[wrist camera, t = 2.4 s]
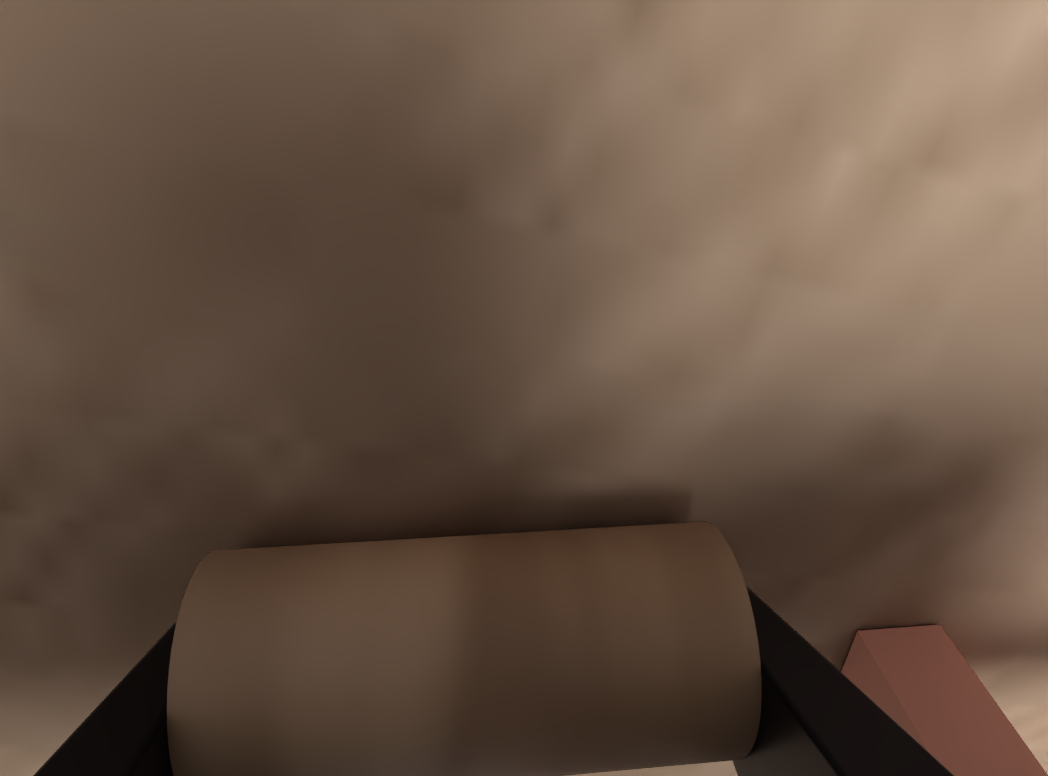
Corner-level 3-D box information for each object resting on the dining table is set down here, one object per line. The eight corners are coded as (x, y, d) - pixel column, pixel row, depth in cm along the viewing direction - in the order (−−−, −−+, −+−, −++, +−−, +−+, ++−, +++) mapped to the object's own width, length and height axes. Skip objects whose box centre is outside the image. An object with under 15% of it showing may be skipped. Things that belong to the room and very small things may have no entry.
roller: (669, 609, 12) (728, 802, 10) (259, 638, 11) (213, 853, 9) (701, 475, 10) (784, 675, 8) (213, 501, 9) (140, 726, 7)
